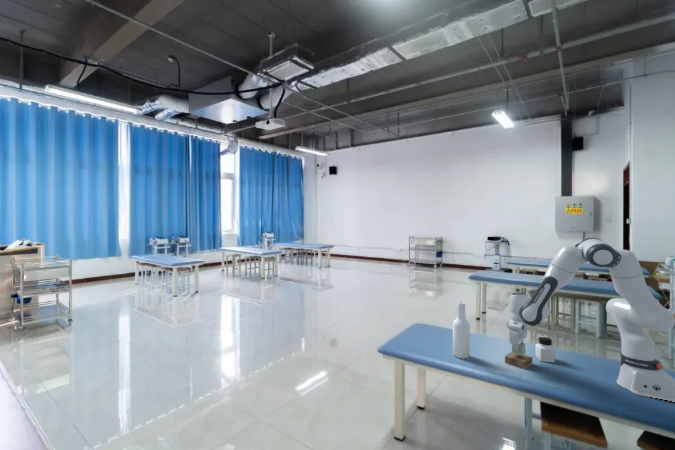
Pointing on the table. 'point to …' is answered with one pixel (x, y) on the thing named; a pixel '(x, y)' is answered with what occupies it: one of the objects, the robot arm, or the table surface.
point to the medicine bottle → (545, 350)
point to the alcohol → (461, 333)
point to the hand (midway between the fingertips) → (518, 349)
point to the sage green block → (521, 349)
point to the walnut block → (518, 360)
